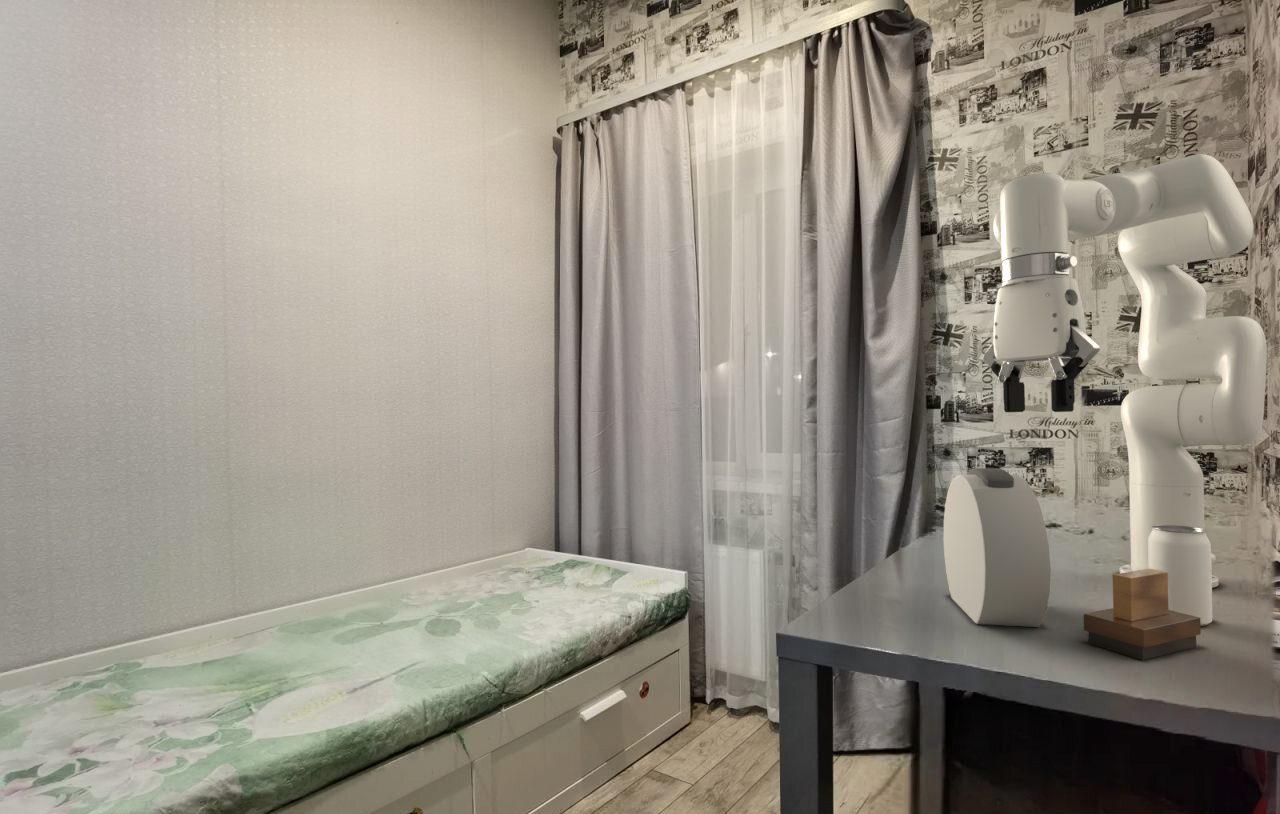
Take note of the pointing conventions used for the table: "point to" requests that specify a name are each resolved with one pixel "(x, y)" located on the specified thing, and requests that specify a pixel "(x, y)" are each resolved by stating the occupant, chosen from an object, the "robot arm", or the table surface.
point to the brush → (1141, 618)
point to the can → (1184, 568)
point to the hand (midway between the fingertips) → (1037, 410)
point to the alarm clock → (996, 549)
